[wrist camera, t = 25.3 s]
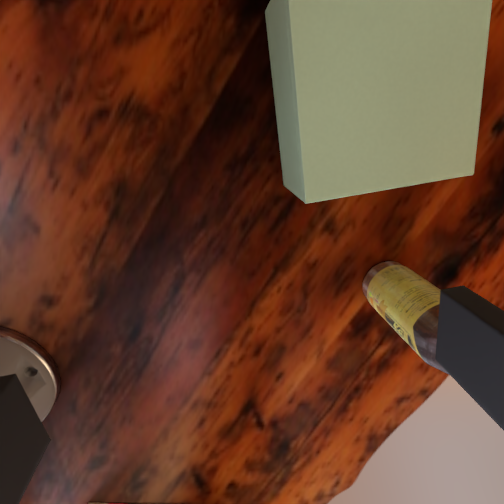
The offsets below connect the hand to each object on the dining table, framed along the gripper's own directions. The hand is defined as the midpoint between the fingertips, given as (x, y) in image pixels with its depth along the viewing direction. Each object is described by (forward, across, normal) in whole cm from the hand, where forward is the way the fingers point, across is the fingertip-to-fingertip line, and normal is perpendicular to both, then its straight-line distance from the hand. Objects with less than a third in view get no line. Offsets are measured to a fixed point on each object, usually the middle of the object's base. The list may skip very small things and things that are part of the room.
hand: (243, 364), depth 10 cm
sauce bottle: (+27, +18, -14) cm, 35 cm away
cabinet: (+27, +14, +8) cm, 31 cm away
